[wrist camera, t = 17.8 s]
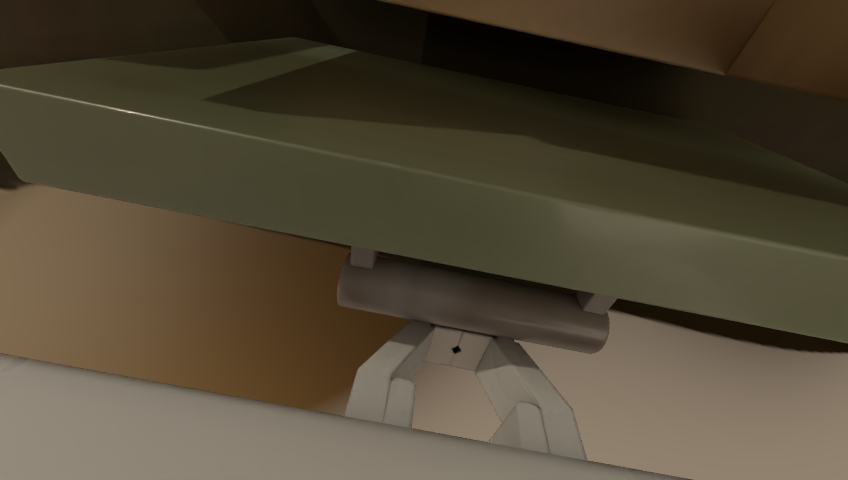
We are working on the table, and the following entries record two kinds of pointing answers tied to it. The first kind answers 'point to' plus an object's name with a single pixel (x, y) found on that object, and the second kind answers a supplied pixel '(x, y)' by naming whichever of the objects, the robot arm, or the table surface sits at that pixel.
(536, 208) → the drawer
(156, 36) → the table surface
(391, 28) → the table surface
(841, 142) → the table surface
